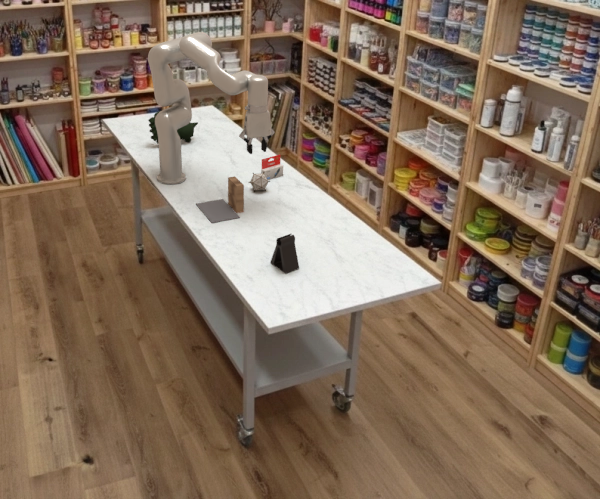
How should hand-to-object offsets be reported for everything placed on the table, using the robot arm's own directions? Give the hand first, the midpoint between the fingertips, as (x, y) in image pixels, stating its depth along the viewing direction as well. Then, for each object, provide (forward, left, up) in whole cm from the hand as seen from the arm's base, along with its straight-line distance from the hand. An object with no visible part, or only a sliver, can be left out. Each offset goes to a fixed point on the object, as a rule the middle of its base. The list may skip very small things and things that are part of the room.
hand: (256, 151), depth 280 cm
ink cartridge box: (-22, +18, -24) cm, 37 cm away
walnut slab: (0, -9, -23) cm, 25 cm away
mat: (0, -17, -23) cm, 29 cm away
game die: (-12, +7, -24) cm, 27 cm away
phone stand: (+49, -11, -24) cm, 56 cm away
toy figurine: (-76, -9, -24) cm, 80 cm away
